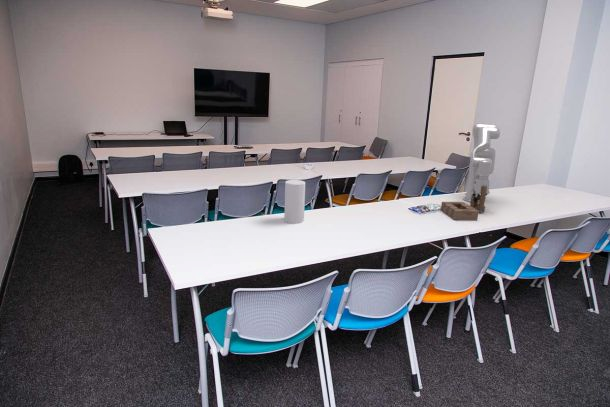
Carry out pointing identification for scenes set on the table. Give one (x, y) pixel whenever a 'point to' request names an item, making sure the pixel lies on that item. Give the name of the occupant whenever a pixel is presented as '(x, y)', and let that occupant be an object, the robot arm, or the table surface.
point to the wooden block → (481, 200)
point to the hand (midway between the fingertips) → (478, 201)
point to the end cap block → (459, 211)
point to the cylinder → (294, 201)
